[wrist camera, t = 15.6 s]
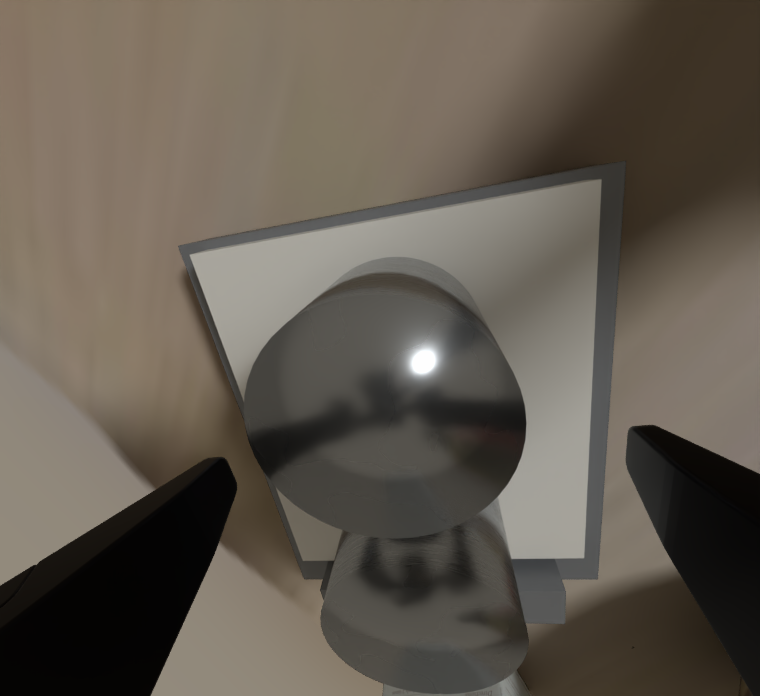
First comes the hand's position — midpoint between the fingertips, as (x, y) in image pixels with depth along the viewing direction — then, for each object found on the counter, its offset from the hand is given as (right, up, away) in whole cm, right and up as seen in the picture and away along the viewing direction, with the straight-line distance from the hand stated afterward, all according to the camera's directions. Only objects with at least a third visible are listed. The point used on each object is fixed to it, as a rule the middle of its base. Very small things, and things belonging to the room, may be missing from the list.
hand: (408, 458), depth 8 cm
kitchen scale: (+1, 0, +8) cm, 8 cm away
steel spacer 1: (0, +3, +4) cm, 4 cm away
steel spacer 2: (+1, -3, +6) cm, 7 cm away
